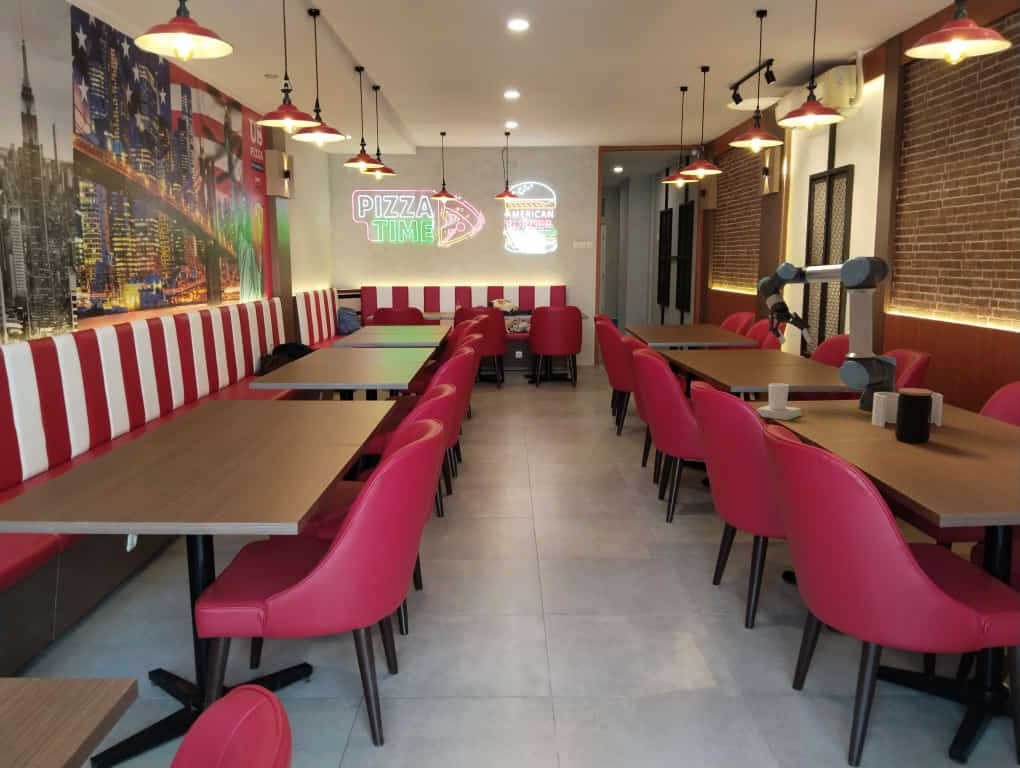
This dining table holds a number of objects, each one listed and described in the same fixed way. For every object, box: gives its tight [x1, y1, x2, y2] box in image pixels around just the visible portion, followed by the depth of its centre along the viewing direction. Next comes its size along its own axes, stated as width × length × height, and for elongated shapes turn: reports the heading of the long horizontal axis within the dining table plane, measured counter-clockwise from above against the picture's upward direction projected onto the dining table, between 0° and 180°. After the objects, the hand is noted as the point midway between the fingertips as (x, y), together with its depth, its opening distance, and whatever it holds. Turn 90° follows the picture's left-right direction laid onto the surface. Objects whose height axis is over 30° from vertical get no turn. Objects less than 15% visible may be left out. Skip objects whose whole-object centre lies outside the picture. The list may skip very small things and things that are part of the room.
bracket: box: [871, 392, 944, 428], centre depth 288 cm, size 25×10×12 cm, turn 90°
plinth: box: [756, 404, 802, 421], centre depth 307 cm, size 13×13×3 cm
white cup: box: [768, 382, 790, 410], centre depth 306 cm, size 8×8×10 cm
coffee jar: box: [894, 387, 934, 444], centre depth 262 cm, size 11×11×18 cm
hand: (796, 342), depth 329 cm, fingers open, 13 cm apart
